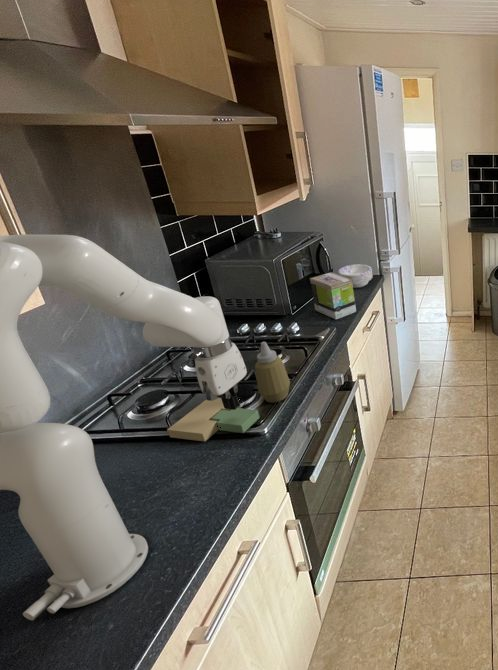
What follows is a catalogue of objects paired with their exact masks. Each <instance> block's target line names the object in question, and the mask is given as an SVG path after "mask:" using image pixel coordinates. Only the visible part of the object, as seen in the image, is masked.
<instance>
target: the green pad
mask: <svg viewBox="0 0 498 670" xmlns="http://www.w3.org/2000/svg"><path fill="white" fill-rule="evenodd" d="M260 418H261V417H260V413H259V410H257V409H248V408H243V409H241V408H237V409H235V410H231V411H227V410H221V411H220V412H219V413H217V414H216V415H215V416H214V417H213V418H212V421H217V425H218V428H219V430H218V431H221V432H231V433H239V434H244V433H245V432H247V430H249V429H250V428H251V426H253V425H254V424H255V423H256V422H257V421H258V420H259V419H260ZM220 427H221V428H220Z"/></svg>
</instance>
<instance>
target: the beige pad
mask: <svg viewBox="0 0 498 670" xmlns="http://www.w3.org/2000/svg"><path fill="white" fill-rule="evenodd" d="M239 400H240V399H239ZM241 409H244V408H241ZM221 410H227V411H231V409H225V408H224V405H223V402H222V399H221V398H218V399H216V400H214V401H208V400H207V398H206V399H204V401H202V402H201V403H200V404H198V405H197V406H196V407H194V408H193V409H192V410H191V411H189V412H188V413H186V414H185V415H184V416H183V417H182V418H180V419H179V420H177V421H176V422H175V423H173V424H172V425H171V426H170V427H168V428H167V429H166V432H167V433H168V436H169V438H172V439H179V440H180V439H181V440H190V441H197V442H198V441H199V442H206V441H208V440H209V439H210V438H211V437H213V435H215V433H217V432H218V431H220V430H219V428H218V427H217V426H218V425H217V421H212V418H213V417H214V416H215V415H216V414H217V413H219V412H220V411H221Z"/></svg>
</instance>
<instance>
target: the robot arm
mask: <svg viewBox="0 0 498 670" xmlns="http://www.w3.org/2000/svg"><path fill="white" fill-rule="evenodd" d="M40 286H46V287H47V286H50V287H55V288H58V289H60V290H62V291H63V292H66V293H67V294H69V295H71V296H73V297H75V298H76V299H78V300H80V301H82V302H84V303H86V304H88V305H89V306H91V307H92V308H94V309H95V310H98V311H100V312H101V313H103V314H105V315H107V316H109V317H114V318H118V319H122V320H125V321H131V322H137V323H145V324H144V325H143V328H142V337H143V339H144V341H145V342H147V343H148V344H149V345H151V346H155V347H158V348H159V347H161V348H192V349H193V353H192V354H191V357H192V358H193V359H194V366H195V367H194V368H195V373H196V379H197V382H198V386H199V388H200V390H201V392H202V393H203V395H206V397H205V398H206V399H207V400H208V401H214V400H216V399H218V398H221V399H222V402H223V405H224V408H225V409H231V410H235V409H237V407H239V406H240V404H239V400H238V398H239V397H238V394H237V393H238V391H239V387H238V386H239V383H240V382H241V381H242V380H243V379H245V378H246V376H247V373H248V371H247V370H248V369H247V366H246V364H245V362H244V359H243V356H242V354H241V352H240V350H239V348H238V346H237V345H236V344H235V343H234V342H232V339H231V336H230V333H229V330H228V327H227V323H226V319H225V316H224V313H223V310H222V305H221V303H220V300H218V299H217V298H216V297H214V296H209V295H207V296H205V295H204V296H197V297H192V296H191V295H187V294H186V293H183V292H180V291H177V290H175V289H173V288H170V287H167V286H165V285H162V284H159V283H156V282H153V281H150V280H148V279H146V278H144V277H143V276H141V275H140V274H139V273H137V272H136V271H135V270H133V269H131V268H130V267H129V266H128V265H126V264H125V263H123V262H122V261H120V260H119V259H117V258H116V257H115V256H114V255H112V254H111V253H110V252H108V251H106V250H105V248H103V247H102V246H99V245H98V244H97V243H95V242H94V241H92V240H90V239H88V238H85V237H82V236H79V235H73V234H39V233H38V234H37V233H36V234H35V233H34V234H32V233H31V234H30V233H27V234H25V233H24V234H23V233H22V234H9V235H7V234H5V235H0V491H12V492H14V493H16V494H17V495H18V496H19V505H18V510H17V511H18V512H17V514H18V518H19V521H20V522H21V524H22V526H23V528H24V529H25V531H26V532H27V533H28V535H29V536H30V538H31V540H32V541H33V543H34V544H35V546H36V548H37V550H38V551H39V553H40V554H41V556H42V557H43V559H44V560H45V563H47V565H48V567H49V568H50V570H51V571H52V573H53V575H51V576H50V577H49V578H48V579H47V583H48V584H49V585H50V586H48V588H46V589H45V590H44V594H43V595H42V596H41V597H40V598H39V599H38V600H36V601H34V602H33V603H32V604H31V605H30V606H29V607H28V608H27V609H26V610H25V611H23V612H22V616H23V617H24V618H26V619H27V620H29V621H35V620H36V618H38V617H39V616H40V615H41V614H42V613H43V612H44V611H45V610H46V611H47V612H48V613H50V614H55V613H56V612H57V611H59V610H60V608H63V609H75V608H80V607H84V606H87V605H90V604H92V603H96V602H98V601H99V600H102V599H103V598H105V597H107V596H109V595H110V594H112V593H114V592H115V591H117V590H118V589H119V588H121V587H122V586H123V585H125V584H126V583H127V582H128V581H129V580H130V579H131V578H132V577H133V576H134V575H135V574H136V573H137V572H138V571H139V569H140V568H141V567H142V566H143V564H144V562H145V561H146V558H147V556H148V553H149V545H148V542H147V539H146V538H145V537H144V536H142V535H140V534H137V533H129V531H128V529H127V527H126V525H125V523H124V521H123V519H122V517H121V515H120V512H119V511H118V509H117V507H116V505H115V503H114V501H113V498H112V497H111V495H110V493H109V491H108V489H107V487H106V486H105V484H104V481H103V479H102V476H101V474H100V471H99V470H98V467H97V463H96V456H95V448H94V443H93V440H92V438H91V436H90V435H89V433H88V432H87V431H85V430H84V429H83V428H80V427H79V426H75V425H72V424H68V423H62V422H39V421H41V420H42V418H43V417H45V416H46V414H47V413H48V411H49V409H50V406H51V393H50V391H49V389H48V386H47V384H46V383H45V381H44V379H43V377H42V375H41V374H40V372H39V370H38V369H37V367H36V365H35V363H34V362H33V360H32V359H31V357H30V355H29V353H28V351H27V349H26V348H25V346H24V344H23V341H22V340H21V336H20V335H19V331H18V321H19V316H20V314H21V312H22V310H23V308H24V306H25V305H26V303H27V302H28V301H29V299H30V298H31V296H32V295H33V294H34V292H35V291H36V290H37V288H38V287H40Z"/></svg>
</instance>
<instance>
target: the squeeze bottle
mask: <svg viewBox="0 0 498 670" xmlns="http://www.w3.org/2000/svg"><path fill="white" fill-rule="evenodd" d="M256 359H257V361H256V363H255V365H254V368H255V376H256V384H257V391H258V393H259V394H260V396H262V398H263V399H264V400H265V402H267V403H272V404H273V403H278V402H281V401H283V400H284V399H286V398H287V397H288V396H289V392H290V385H291V379H290V378H289V376H288V372H287V370H286V367H285V364H284V362H283V359H282V358H281V357H280V356H278V355H277V352H276V351H275V350H273V349H270V347H269V345H268V344H267V342H266V341H262V342H260V352H259V353H258V354H257V355H256Z"/></svg>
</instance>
